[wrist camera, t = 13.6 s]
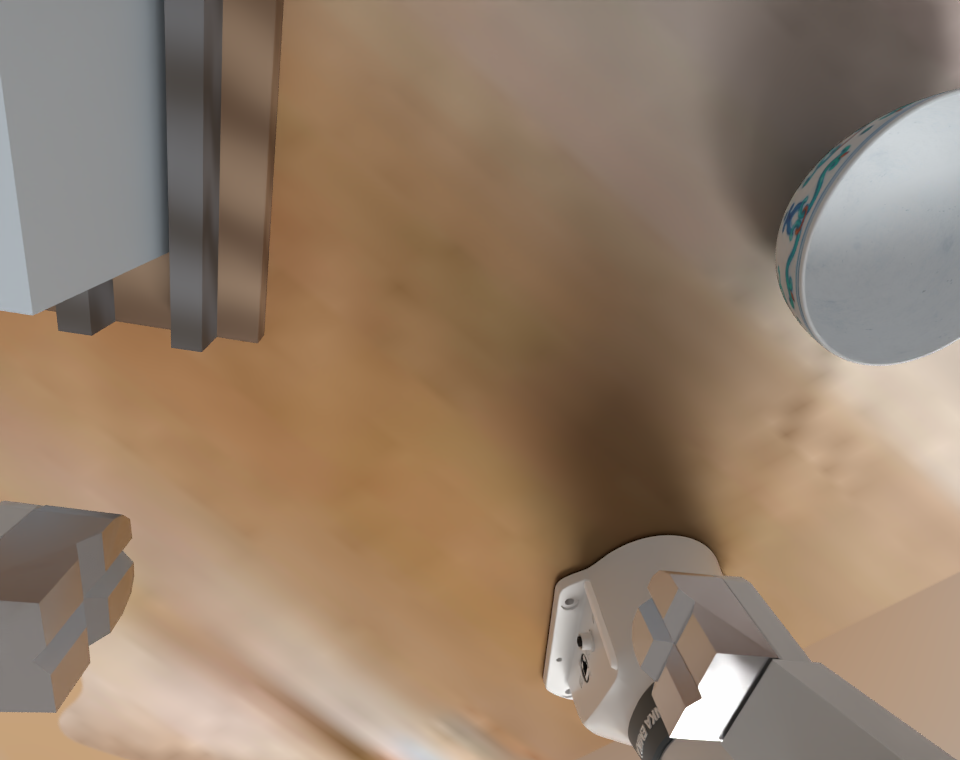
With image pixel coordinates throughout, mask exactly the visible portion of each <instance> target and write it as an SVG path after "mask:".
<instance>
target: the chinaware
mask: <svg viewBox="0 0 960 760" xmlns="http://www.w3.org/2000/svg"><path fill="white" fill-rule="evenodd" d="M776 272H777V278H778V282H779V286H780V289H781V292H782V294H783V297H784V299H785V301H786V303H787V305H788V307H789V309H790V310H791V312H792V313H793V315H794V316H795V318H796V319H797V321H798V322H799V323H800V324H801V326H802V327H803V328H804V329H805V330H806V331H807V332H808V333H809V334H810V335H811V336H812V337H813V338H814V339H815V340H816V341H817V342H818V343H820V344H821V345H822V346H823V347H824V348H826V349H827V350H828V351H830V352H831V353H833V354H834V355H836V356H838V357H840V358H842V359H845V360H847V361H850V362H853V363H857V364H862V365H871V366H885V365H895V364H900V363H905V362H909V361H913V360H916V359H919V358H922V357H925V356H927V355H930V354H932V353H934V352H936V351H939V350H941V349H943V348H945V347H946V346H948V345H950V344H952V343H954V342H955V341H957V340H958V339H960V88H959V89H955V90H951V91H947V92H943V93H940V94H937V95H933V96H930V97H927V98H924V99H921V100H919V101H916V102H913V103H910V104H908V105H906V106H903V107H901V108H898V109H896V110H894V111H892V112H890V113H888V114H885V115H883V116H882V117H880V118H878V119H876V120H874V121H872V122H870V123H869V124H867V125H865V126H864V127H862V128H860V129H859V130H857V131H856V132H854V133H853V134H851V135H850V136H849V137H847V138H846V139H844V140H843V141H842V142H840V143H839V144H838V145H837V146H836V147H834V148H833V149H832V150H831V151H830V152H829V153H828V154H826V155H825V156H824V157H823V158H822V159H821V160H820V161H819V162H818V163H817V165H816V166H815V167H814V168H813V169H812V170H811V171H810V172H809V174H808V175H807V176H806V177H805V179H804V180H803V181H802V183H801V184H800V186H799V187H798V189H797V190H796V192H795V194H794V195H793V197H792V199H791V201H790V203H789V205H788V207H787V209H786V211H785V214H784V216H783V219H782V222H781V225H780V228H779V232H778V237H777V243H776Z"/></svg>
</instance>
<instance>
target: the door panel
mask: <svg viewBox="0 0 960 760" xmlns="http://www.w3.org/2000/svg"><path fill="white" fill-rule="evenodd" d="M168 252H169V210H168V161H167V111H166V62H165V12H164V0H0V310H1V311H8V312H14V313H21V314H27V315H35V314H37V313H39V312H41V311H43V310H46V309H48V308H50V307H52V306H54V305H56V304H59V303H61V302H63V301H65V300H67V299H69V298H71V297H74V296H76V295H78V294H80V293H82V292H84V291H87V290H89V289H91V288H93V287H95V286H97V285H99V284H102V283H104V282H106V281H108V280H110V279H112V278H115V277H117V276H119V275H121V274H123V273H125V272H127V271H130V270H132V269H134V268H136V267H138V266H140V265H143V264H145V263H147V262H149V261H151V260H153V259H156V258H158V257H160V256H162V255H164V254H166V253H168Z"/></svg>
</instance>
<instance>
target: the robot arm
mask: <svg viewBox="0 0 960 760" xmlns="http://www.w3.org/2000/svg"><path fill="white" fill-rule="evenodd" d="M131 539H132V533H131V524H130V519H129V518H127V517H126V516H124V515H120V514H112V513H104V512H96V511H88V510H80V509H72V508H64V507H56V506H48V505H45V506H41V505H34V504H26V503H18V502H10V501H2V502H0V712H53V713H54V712H55V713H56V712H57V711H58V709H59V708H60V706H61V705H62V703H63V702H64V700H65V699H66V697H67V696H68V695H69V693H70V692H71V690H72V689H73V687H74V686H75V684H76V683H77V681H78V680H79V678H80V677H81V675H82V674H83V672H84V671H85V670H86V668H87V667H88V665H89V664H90V655H89V645H91V644H93V643H94V642H96V641H98V640H99V639H101V638H102V637H104V636H106V635H107V634H109V633H111V631H112V629H113V628H114V626H115V625H116V623H117V622H118V620H119V619H120V617H121V616H122V614H123V612H124V609H125V607H126V604H127V602H128V599H129V597H130V594H131V591H132V585H133V579H134V562H133V561H132V560H131V559H130V558H129V557H128V556H127V555H126V554H125V553H124V552H123V551H122V550H123V549H124V548H125V546H126V545H127V544H128V543H129V541H130V540H131ZM543 681H544V684H545V687H546V689H547V690H548V691H550V692H551V693H553V694H555V695H557V696H560V697H563V698H567V699H571V700H573V701H574V704H575V707H576V710H577V712H578V715H579V717H580V719H581V721H582V723H583V724H584V726H585V727H586V728H587V729H589V730H590V731H591V732H593V733H595V734H597V735H599V736H602V737H605V738H608V739H612V740H615V741H618V742H621V743H624V744H627V745H631V746H633V747H634V749H635V750H636V752H637V753H638V755H639V756H640V758H641V760H956V759H955V758H953V757H952V756H951V755H949V754H948V753H946V752H945V751H944V750H942V749H941V748H939V747H938V746H937V745H935V744H934V743H932V742H931V741H930V740H928V739H926V738H925V737H924V736H923V735H921V734H920V733H918V732H917V731H915V730H914V729H913V728H911V727H910V726H908V725H907V724H906V723H904V722H903V721H901V720H900V719H899V718H897V717H896V716H894V715H893V714H892V713H890V712H889V711H887V710H886V709H885V708H883V707H882V706H880V705H879V704H878V703H876V702H875V701H873V700H872V699H870V698H869V697H867V696H866V695H865V694H863V693H862V692H861V691H859V690H858V689H856V688H855V687H854V686H852V685H851V684H849V683H848V682H847V681H845V680H844V679H842V678H841V677H840V676H838V675H837V674H835V673H834V672H833V671H831V670H830V669H828V668H827V667H825V666H824V665H823V664H821V663H817V662H811V660H810V659H809V658H808V657H807V655H806V654H805V653H804V651H803V650H802V649H801V647H800V646H799V645H798V644H797V642H796V641H795V640H794V638H793V637H792V636H791V634H790V633H789V632H788V631H787V629H786V628H785V627H784V625H783V624H782V623H781V622H780V620H779V619H778V618H777V616H776V615H775V614H774V612H773V611H772V610H771V609H770V607H769V606H768V605H767V603H766V602H765V601H764V600H763V598H762V597H761V596H760V594H759V593H758V592H757V591H756V589H755V588H754V587H753V585H752V584H751V583H750V582H748V581H747V580H745V579H744V578H742V577H734V576H723V574H722V572H721V569H720V566H719V564H718V561H717V559H716V557H715V555H714V554H713V552H712V551H711V550H710V549H709V548H708V547H707V546H705V545H704V544H702V543H700V542H698V541H696V540H694V539H691V538H687V537H683V536H674V535H663V536H653V537H648V538H644V539H640V540H637V541H634V542H631V543H628V544H626V545H624V546H622V547H620V548H618V549H616V550H614V551H612V552H611V553H609V554H608V555H606V556H605V557H603V558H602V559H601V560H599V561H598V562H597V563H595V564H594V565H592V566H591V567H589V568H587V569H585V570H582V571H580V572H577V573H574V574H571V575H569V576H567V577H565V578H563V579H561V580H560V581H559V582H558V583H557V585H556V587H555V593H554V601H553V608H552V615H551V623H550V630H549V638H548V645H547V652H546V660H545V667H544V675H543Z"/></svg>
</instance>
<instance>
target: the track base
mask: <svg viewBox="0 0 960 760" xmlns="http://www.w3.org/2000/svg"><path fill="white" fill-rule="evenodd" d="M283 2H284V0H164V12H165V62H166V111H167V161H168V210H169V252H168V253H166V254H164V255H162V256H160V257H158V258H156V259H153V260H151V261H149V262H147V263H145V264H143V265H140V266H138V267H136V268H134V269H132V270H130V271H127V272H125V273H123V274H121V275H119V276H117V277H115V278H112V279H110V280H108V281H106V282H104V283H102V284H99V285H97V286H95V287H93V288H91V289H89V290H87V291H84V292H82V293H80V294H78V295H76V296H74V297H71V298H69V299H67V300H65V301H63V302H61V303H59V304H56V305H54V306H52V307H50V308H48V309H46V310H48V311H55V312H56V313H57V322H58V331H64V332H71V333H77V334H84V335H91V336H92V335H94V334H95V333H97V332H98V331H100V330H102V329H103V328H105V327H107V326H108V325H110V324H111V323H113V322H115V321H119V322H125V323H131V324H138V325H144V326H150V327H157V328H163V329H170V330H171V348H178V349H184V350H191V351H198V352H202V351H203V350H204V349H205V348H206V347H207V346H208V345H209V344H210V343H211V342H212V341H213V340H214V339H215V338H216V337H221V338H227V339H233V340H240V341H246V342H253V343H258V342H259V341H260V340H261V338H262V337H263V336H264V326H265V309H266V292H267V275H268V258H269V241H270V224H271V207H272V190H273V173H274V156H275V139H276V122H277V105H278V88H279V71H280V53H281V36H282V19H283Z"/></svg>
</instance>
